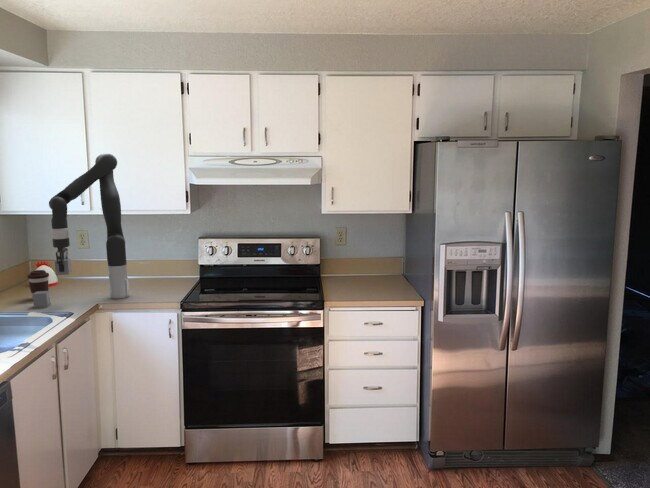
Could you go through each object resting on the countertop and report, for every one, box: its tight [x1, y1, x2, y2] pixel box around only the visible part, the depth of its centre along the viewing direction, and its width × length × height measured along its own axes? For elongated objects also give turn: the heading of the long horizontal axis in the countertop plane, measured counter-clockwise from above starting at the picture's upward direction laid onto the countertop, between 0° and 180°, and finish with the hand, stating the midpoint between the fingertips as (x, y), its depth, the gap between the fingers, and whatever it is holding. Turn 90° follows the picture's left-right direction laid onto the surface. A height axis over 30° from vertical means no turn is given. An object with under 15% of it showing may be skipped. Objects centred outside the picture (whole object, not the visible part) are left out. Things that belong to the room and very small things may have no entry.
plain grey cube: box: [32, 290, 51, 309], centre depth 264 cm, size 6×6×7 cm
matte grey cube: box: [54, 258, 73, 276], centre depth 264 cm, size 6×6×7 cm
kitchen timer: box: [34, 259, 59, 288], centre depth 311 cm, size 14×14×15 cm
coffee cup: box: [26, 269, 49, 300], centre depth 277 cm, size 10×10×15 cm
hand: (63, 270), depth 264 cm, fingers closed on matte grey cube, 6 cm apart
